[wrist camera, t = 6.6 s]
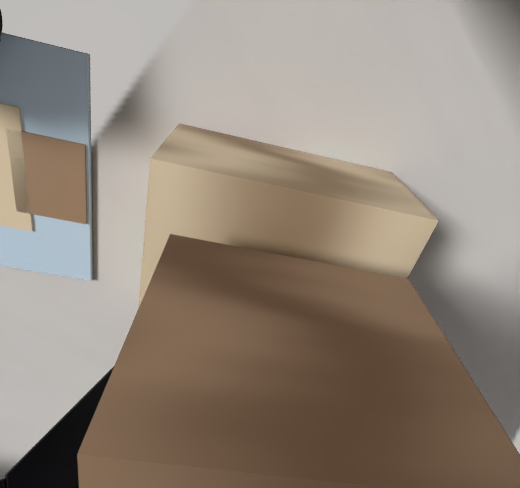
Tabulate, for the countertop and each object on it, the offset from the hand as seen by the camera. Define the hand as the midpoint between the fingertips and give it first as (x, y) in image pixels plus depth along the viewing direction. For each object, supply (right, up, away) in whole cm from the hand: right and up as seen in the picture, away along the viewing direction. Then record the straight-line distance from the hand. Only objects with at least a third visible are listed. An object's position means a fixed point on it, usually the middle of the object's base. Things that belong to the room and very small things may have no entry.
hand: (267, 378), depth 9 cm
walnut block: (0, +1, +1) cm, 1 cm away
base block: (0, +4, +6) cm, 7 cm away
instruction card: (-10, +6, +4) cm, 12 cm away
